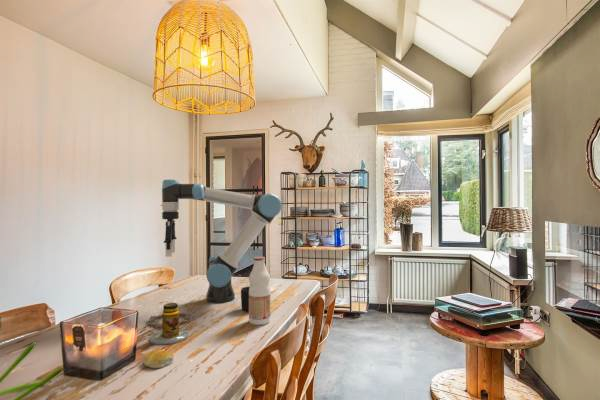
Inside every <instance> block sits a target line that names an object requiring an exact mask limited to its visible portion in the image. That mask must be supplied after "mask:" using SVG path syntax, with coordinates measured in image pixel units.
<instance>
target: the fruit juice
mask: <svg viewBox="0 0 600 400" xmlns="http://www.w3.org/2000/svg"><path fill="white" fill-rule="evenodd" d="M253 262H254V263H253V267H252V270H251V272H250V274H249V276H248V281H249V286H248V287H249V312H248V322H249V324H250V325H253V326H263V325H268V324H270V322H271V317H272V316H271V315H272V314H271V286H270V281H271V275H270V272H268V269H267V266H266V263H265V262H266V257H265V256H255V257H253Z"/></svg>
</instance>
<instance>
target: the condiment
mask: <svg viewBox="0 0 600 400" xmlns="http://www.w3.org/2000/svg"><path fill="white" fill-rule="evenodd" d="M179 312H180V311H179V304H178V303H175V302H169V303H166V304H164V305H163V310H162V313H161V314H162V318H161V322H162V323H161V324H162V328H161V329H162V330H161V331H162V333H161V334H159V335H157V336H156V337H154V338H161V339H171V340H173V339H175V338H177V337H178V336H180V335H181V334H182V333H184V332H179V329H180V326H179V321H180V316H179Z"/></svg>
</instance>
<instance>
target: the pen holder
mask: <svg viewBox="0 0 600 400" xmlns="http://www.w3.org/2000/svg"><path fill="white" fill-rule="evenodd" d="M249 287H250V286H244V287H242V288H241V290H240V303H241V305H240V306H241V310H242V311H243V312H248V313H249Z"/></svg>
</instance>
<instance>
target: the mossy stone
mask: <svg viewBox="0 0 600 400" xmlns="http://www.w3.org/2000/svg"><path fill="white" fill-rule="evenodd" d="M173 361H174V354H173V353H172V352H170V351H169V350H164V349H160V348H158V349H153V350H151V351H149V352H148V353H147V354H146V355H145V356H144V360H143V364H144V366H145V367H147V368H150V369H162V368H165V367H167V366H169V365H171V364H172V363H173Z"/></svg>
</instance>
